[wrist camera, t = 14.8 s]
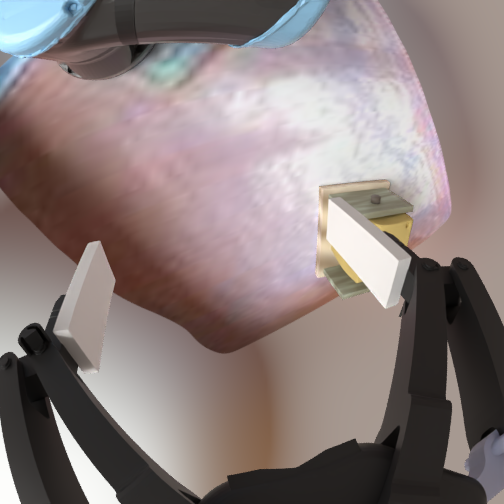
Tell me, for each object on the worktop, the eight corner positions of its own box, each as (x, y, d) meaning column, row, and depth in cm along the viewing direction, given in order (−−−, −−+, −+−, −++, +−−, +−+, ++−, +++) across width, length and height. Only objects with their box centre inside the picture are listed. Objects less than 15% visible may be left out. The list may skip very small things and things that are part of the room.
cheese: (331, 200, 46) (364, 227, 37) (382, 193, 47) (417, 217, 39) (328, 252, 51) (354, 285, 43) (375, 242, 53) (404, 271, 45)
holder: (319, 186, 45) (348, 209, 38) (385, 179, 47) (418, 199, 40) (315, 273, 55) (336, 305, 47) (373, 259, 57) (398, 285, 50)
